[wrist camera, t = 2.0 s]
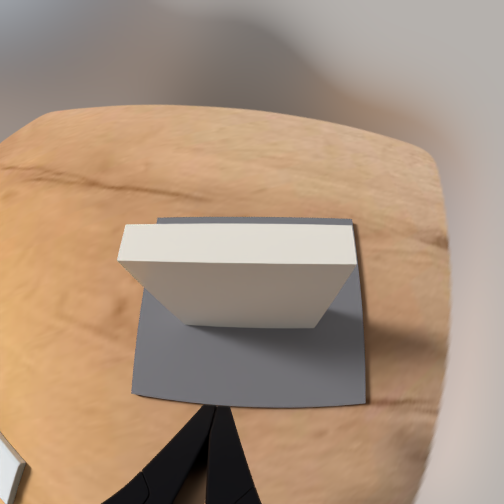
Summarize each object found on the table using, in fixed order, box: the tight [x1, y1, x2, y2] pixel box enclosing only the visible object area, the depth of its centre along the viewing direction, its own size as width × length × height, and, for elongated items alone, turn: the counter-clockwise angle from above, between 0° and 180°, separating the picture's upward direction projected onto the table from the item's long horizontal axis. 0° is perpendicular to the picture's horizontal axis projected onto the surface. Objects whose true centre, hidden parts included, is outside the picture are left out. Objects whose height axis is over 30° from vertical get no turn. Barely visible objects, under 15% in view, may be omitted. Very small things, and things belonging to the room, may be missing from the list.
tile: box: [117, 224, 357, 328], centre depth 18 cm, size 2×10×12 cm, turn 88°
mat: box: [131, 217, 365, 407], centre depth 24 cm, size 16×18×1 cm
